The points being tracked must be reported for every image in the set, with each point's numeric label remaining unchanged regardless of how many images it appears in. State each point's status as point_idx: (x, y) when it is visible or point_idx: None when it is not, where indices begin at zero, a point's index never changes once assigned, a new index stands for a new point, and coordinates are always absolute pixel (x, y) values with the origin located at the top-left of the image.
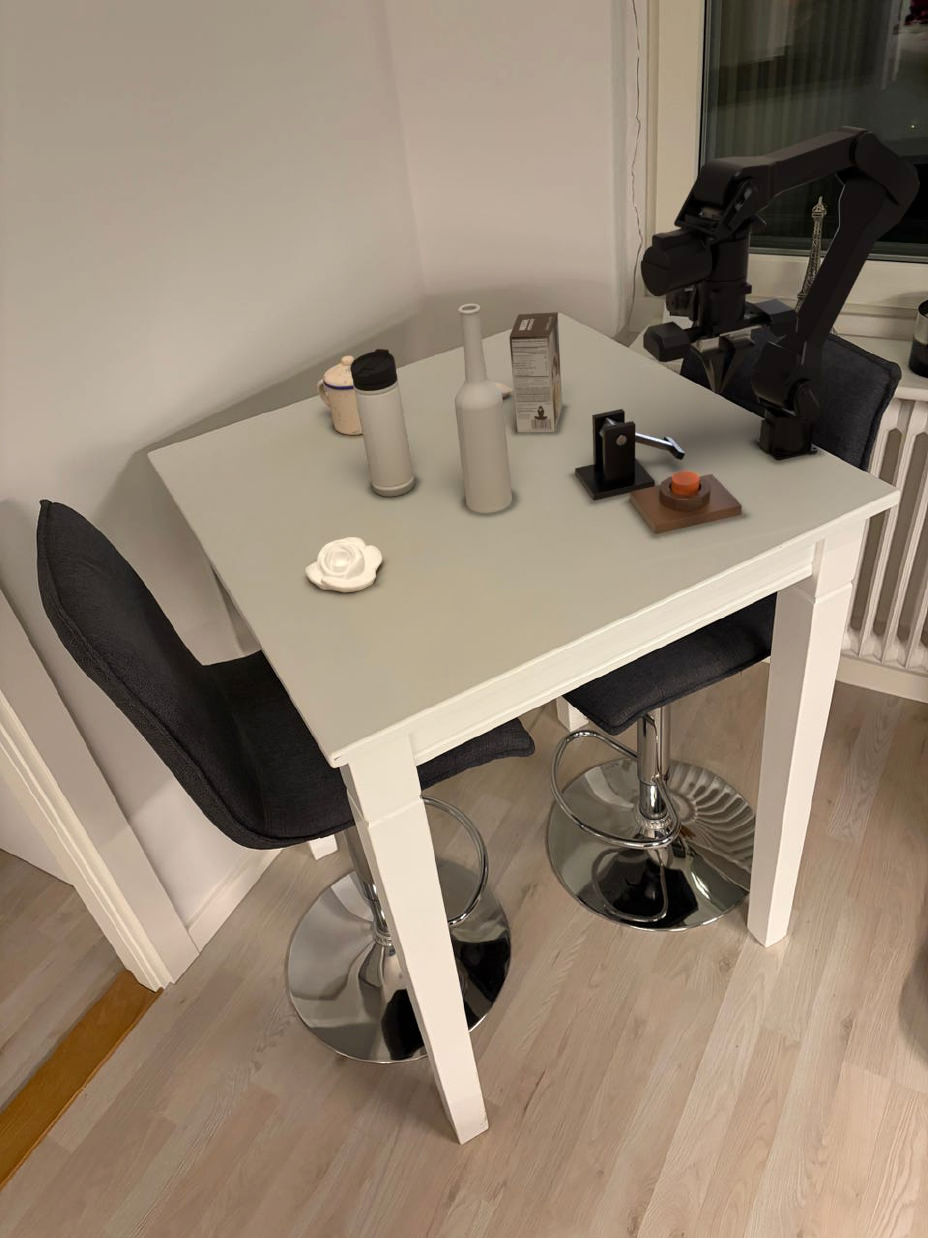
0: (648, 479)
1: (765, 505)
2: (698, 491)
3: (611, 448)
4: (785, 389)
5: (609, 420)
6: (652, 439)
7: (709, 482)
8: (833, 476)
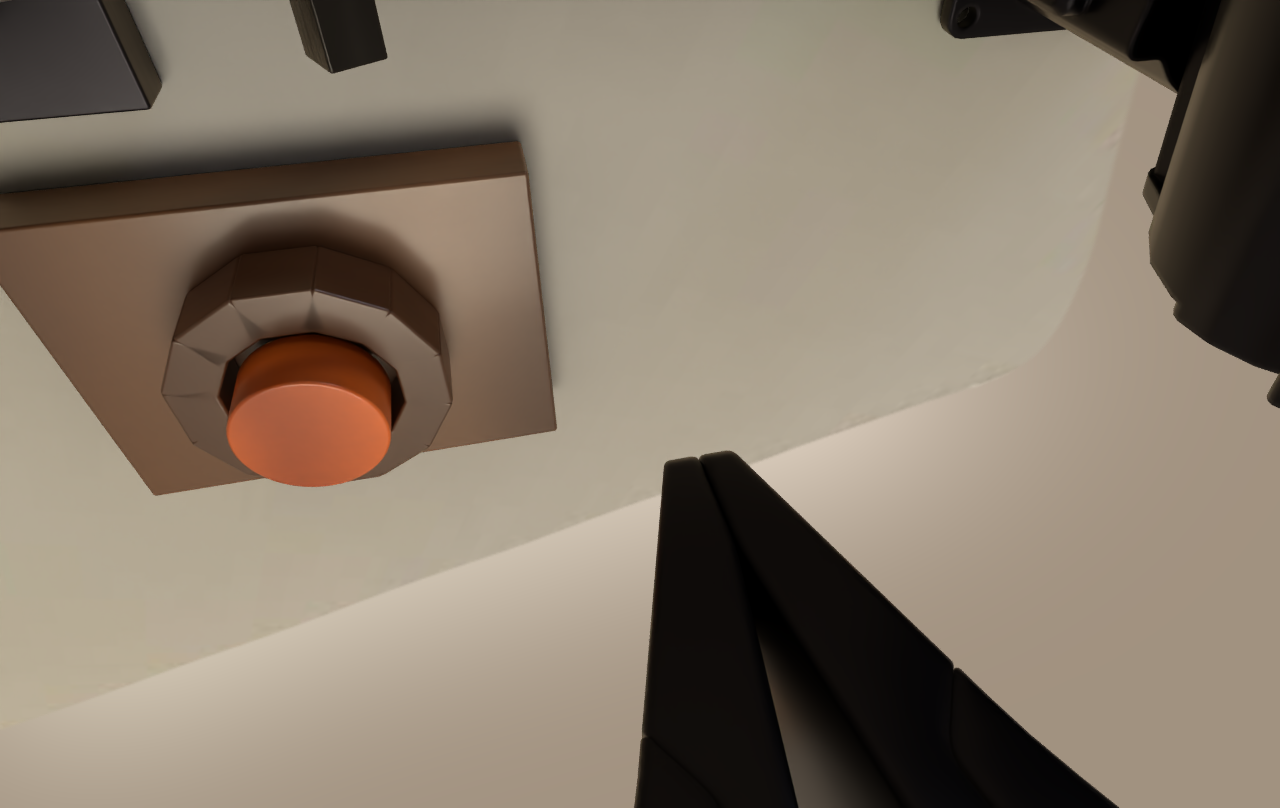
0: (99, 76)
1: (669, 348)
2: None
3: None
4: (1241, 356)
5: None
6: None
7: (484, 254)
8: (1017, 225)
